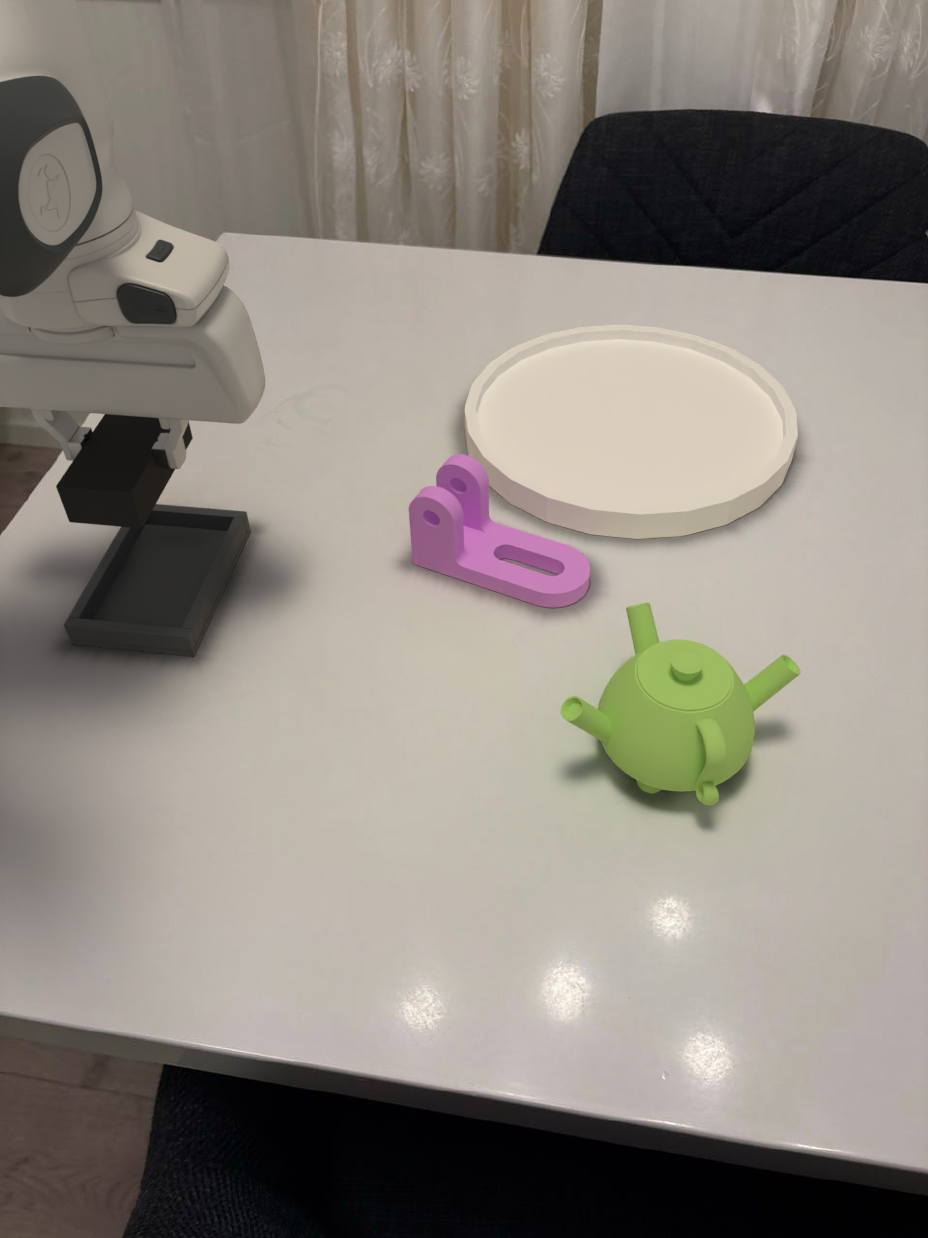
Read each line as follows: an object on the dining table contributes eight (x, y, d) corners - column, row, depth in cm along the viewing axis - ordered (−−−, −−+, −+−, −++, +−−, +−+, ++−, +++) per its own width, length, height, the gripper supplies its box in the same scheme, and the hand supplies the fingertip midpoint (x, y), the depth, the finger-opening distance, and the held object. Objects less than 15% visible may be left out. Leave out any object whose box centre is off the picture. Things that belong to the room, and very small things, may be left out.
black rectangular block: (142, 528, 67) (130, 492, 65) (69, 522, 68) (55, 485, 66) (193, 438, 74) (184, 402, 72) (126, 432, 75) (115, 397, 73)
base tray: (194, 657, 73) (188, 637, 71) (71, 644, 74) (62, 624, 72) (251, 530, 82) (246, 511, 81) (141, 521, 83) (134, 501, 82)
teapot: (718, 856, 61) (743, 768, 55) (545, 773, 65) (550, 683, 59) (785, 727, 67) (814, 636, 61) (624, 659, 72) (636, 568, 66)
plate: (863, 472, 86) (871, 447, 84) (572, 583, 77) (574, 558, 75) (666, 320, 104) (669, 297, 102) (411, 397, 95) (409, 373, 93)
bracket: (412, 563, 79) (407, 490, 74) (447, 520, 83) (443, 448, 78) (571, 616, 75) (576, 543, 70) (600, 569, 78) (607, 496, 73)
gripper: (-129, 281, 59) (-40, 476, 69) (219, 301, 57) (259, 501, 66) (-72, 231, 63) (4, 421, 73) (252, 248, 61) (286, 442, 71)
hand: (128, 459), depth 70 cm, fingers closed on black rectangular block, 5 cm apart
